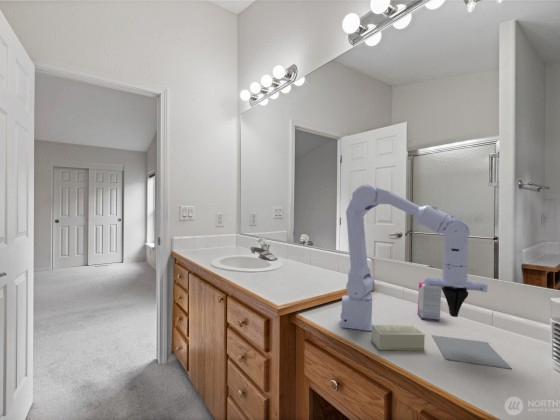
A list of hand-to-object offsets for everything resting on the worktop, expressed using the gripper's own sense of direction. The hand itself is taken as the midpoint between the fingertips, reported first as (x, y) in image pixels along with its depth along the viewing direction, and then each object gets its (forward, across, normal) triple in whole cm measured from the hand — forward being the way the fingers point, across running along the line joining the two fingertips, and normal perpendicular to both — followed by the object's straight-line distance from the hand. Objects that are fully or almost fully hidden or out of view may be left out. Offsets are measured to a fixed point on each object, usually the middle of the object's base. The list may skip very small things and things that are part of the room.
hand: (453, 315), depth 77 cm
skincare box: (+7, -8, -1) cm, 11 cm away
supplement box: (+9, -1, +23) cm, 25 cm away
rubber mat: (+9, +4, 0) cm, 10 cm away
